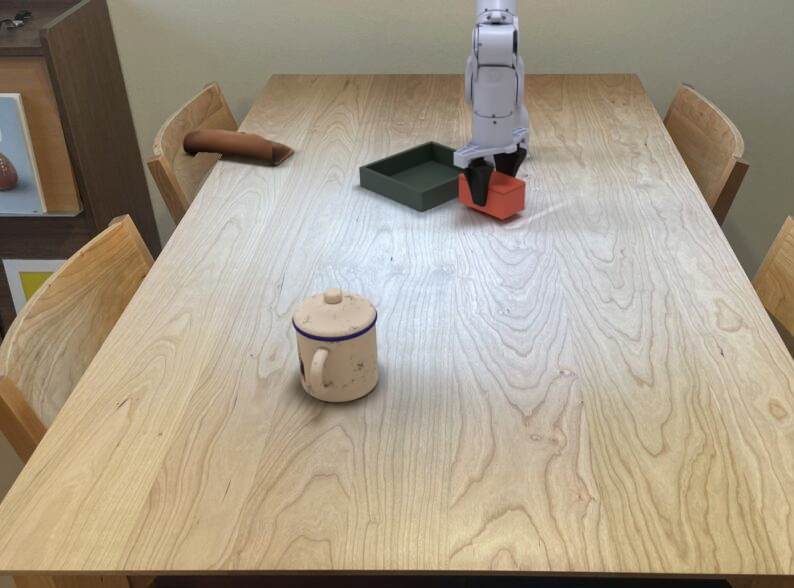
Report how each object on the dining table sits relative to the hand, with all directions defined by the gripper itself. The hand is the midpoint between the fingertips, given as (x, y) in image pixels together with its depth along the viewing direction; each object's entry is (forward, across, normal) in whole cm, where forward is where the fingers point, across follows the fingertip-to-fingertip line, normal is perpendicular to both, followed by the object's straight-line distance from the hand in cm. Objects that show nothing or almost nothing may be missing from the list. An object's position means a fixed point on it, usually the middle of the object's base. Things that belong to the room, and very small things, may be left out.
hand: (491, 199), depth 133 cm
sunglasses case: (+3, -12, +49) cm, 50 cm away
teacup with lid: (+3, -45, -17) cm, 48 cm away
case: (+1, 0, 0) cm, 1 cm away
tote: (+3, +1, +15) cm, 15 cm away
